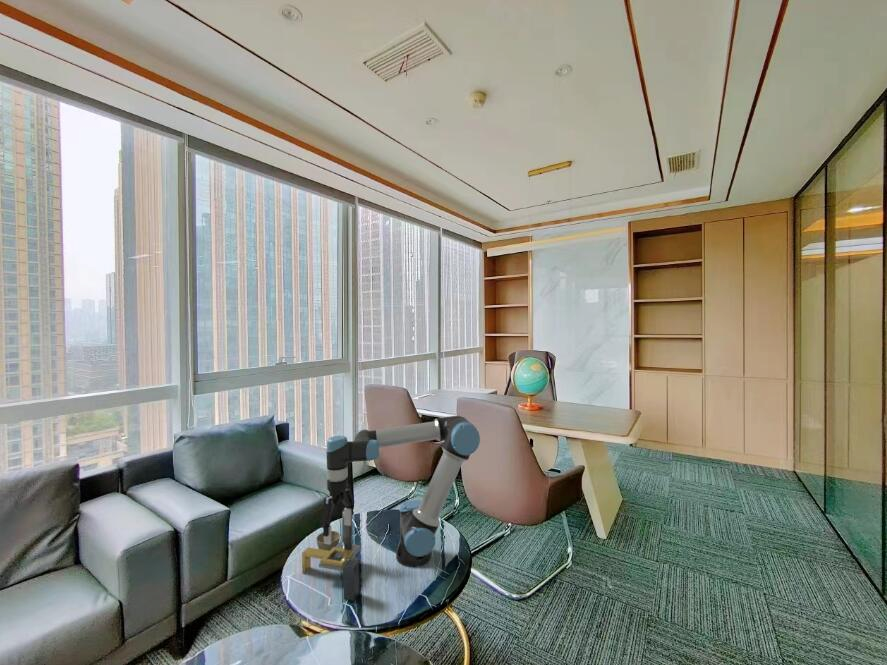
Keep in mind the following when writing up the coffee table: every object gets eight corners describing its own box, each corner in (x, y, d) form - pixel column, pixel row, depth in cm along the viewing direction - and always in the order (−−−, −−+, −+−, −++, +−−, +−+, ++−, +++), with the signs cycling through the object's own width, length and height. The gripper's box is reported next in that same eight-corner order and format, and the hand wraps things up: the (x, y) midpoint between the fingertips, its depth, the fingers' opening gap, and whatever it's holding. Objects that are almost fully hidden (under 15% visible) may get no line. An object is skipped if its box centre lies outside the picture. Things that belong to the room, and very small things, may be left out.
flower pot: (333, 561, 161) (333, 544, 161) (311, 558, 163) (311, 541, 163) (344, 547, 171) (344, 531, 171) (323, 545, 173) (323, 529, 173)
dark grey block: (359, 593, 141) (358, 561, 141) (353, 601, 137) (353, 568, 137) (349, 591, 142) (349, 559, 142) (343, 599, 138) (343, 566, 138)
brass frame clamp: (362, 560, 161) (362, 508, 161) (342, 586, 145) (341, 528, 145) (321, 553, 166) (320, 503, 166) (297, 577, 150) (297, 522, 150)
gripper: (346, 465, 157) (347, 516, 158) (308, 490, 133) (308, 550, 134) (362, 467, 155) (363, 519, 155) (326, 493, 131) (327, 554, 132)
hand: (338, 534), depth 145 cm, fingers open, 13 cm apart
